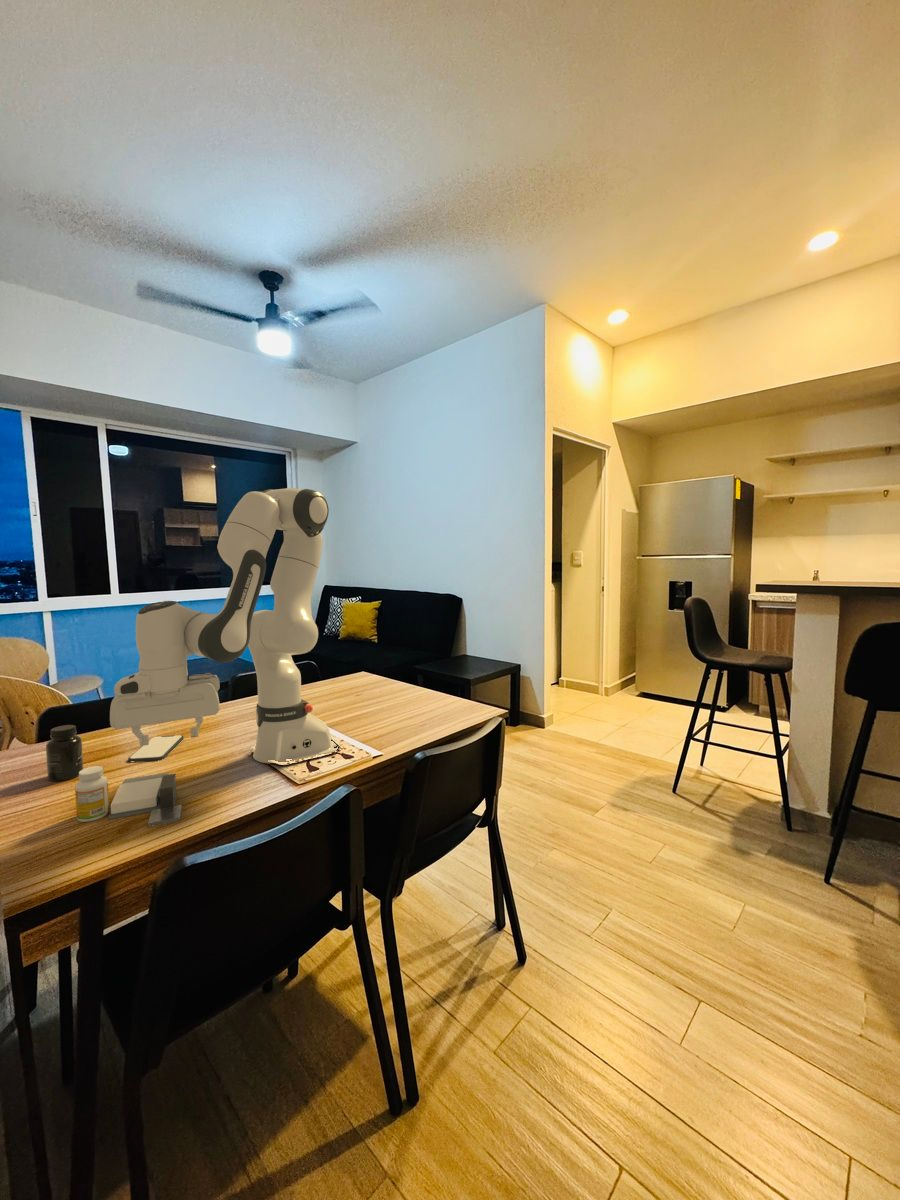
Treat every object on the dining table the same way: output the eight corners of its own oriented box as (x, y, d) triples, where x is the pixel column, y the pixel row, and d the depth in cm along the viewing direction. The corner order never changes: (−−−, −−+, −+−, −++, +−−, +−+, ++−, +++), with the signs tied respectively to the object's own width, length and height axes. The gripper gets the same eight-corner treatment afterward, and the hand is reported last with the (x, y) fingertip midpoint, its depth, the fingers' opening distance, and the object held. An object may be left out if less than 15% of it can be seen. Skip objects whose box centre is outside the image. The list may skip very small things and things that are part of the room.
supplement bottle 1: (88, 774, 118) (85, 726, 117) (53, 785, 113) (50, 735, 112) (77, 767, 122) (74, 721, 121) (43, 777, 117) (40, 729, 116)
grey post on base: (156, 798, 107) (155, 776, 106) (184, 793, 109) (183, 772, 109) (148, 827, 95) (146, 802, 95) (179, 820, 98) (178, 797, 97)
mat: (168, 773, 119) (168, 772, 119) (159, 810, 102) (159, 808, 102) (125, 780, 115) (125, 779, 115) (108, 819, 98) (108, 817, 98)
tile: (161, 777, 111) (156, 796, 102) (162, 787, 111) (156, 807, 102) (120, 784, 108) (110, 804, 99) (120, 794, 108) (111, 815, 99)
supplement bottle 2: (88, 809, 102) (86, 764, 101) (115, 808, 102) (112, 764, 102) (70, 823, 97) (67, 776, 96) (98, 822, 97) (96, 775, 96)
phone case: (162, 763, 127) (185, 739, 143) (162, 757, 127) (185, 734, 142) (126, 765, 125) (152, 741, 141) (125, 759, 125) (152, 736, 141)
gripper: (218, 668, 110) (223, 727, 111) (110, 681, 101) (117, 744, 103) (218, 675, 104) (223, 736, 106) (104, 689, 96) (111, 755, 97)
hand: (170, 740), depth 104 cm, fingers open, 8 cm apart
